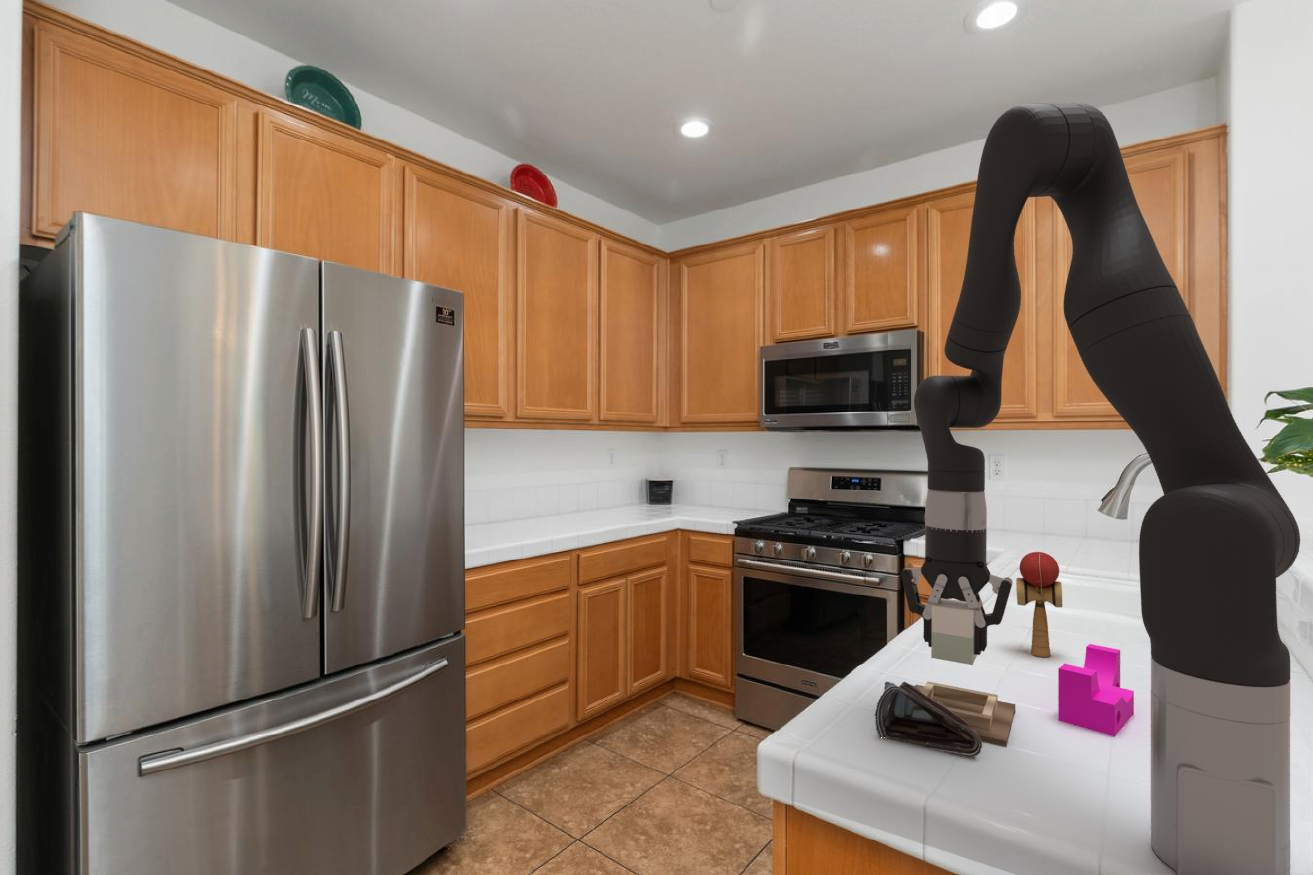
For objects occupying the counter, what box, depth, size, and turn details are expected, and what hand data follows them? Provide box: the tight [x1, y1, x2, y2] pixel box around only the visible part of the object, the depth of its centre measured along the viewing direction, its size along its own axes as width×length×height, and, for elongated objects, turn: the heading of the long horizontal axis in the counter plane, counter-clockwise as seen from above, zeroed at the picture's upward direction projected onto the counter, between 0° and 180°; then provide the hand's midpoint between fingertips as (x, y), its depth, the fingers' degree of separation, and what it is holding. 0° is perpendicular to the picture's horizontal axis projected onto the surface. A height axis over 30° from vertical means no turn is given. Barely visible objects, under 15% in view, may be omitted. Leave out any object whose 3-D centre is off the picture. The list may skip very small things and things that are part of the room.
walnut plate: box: [914, 681, 1016, 748], centre depth 87 cm, size 13×13×3 cm
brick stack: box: [930, 599, 978, 666], centre depth 87 cm, size 5×5×7 cm
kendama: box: [1015, 551, 1063, 658], centre depth 113 cm, size 8×6×18 cm
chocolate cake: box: [874, 681, 983, 758], centre depth 81 cm, size 10×7×12 cm
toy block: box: [1057, 643, 1135, 737], centre depth 89 cm, size 15×6×8 cm, turn 133°
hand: (954, 648), depth 88 cm, fingers closed on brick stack, 5 cm apart
